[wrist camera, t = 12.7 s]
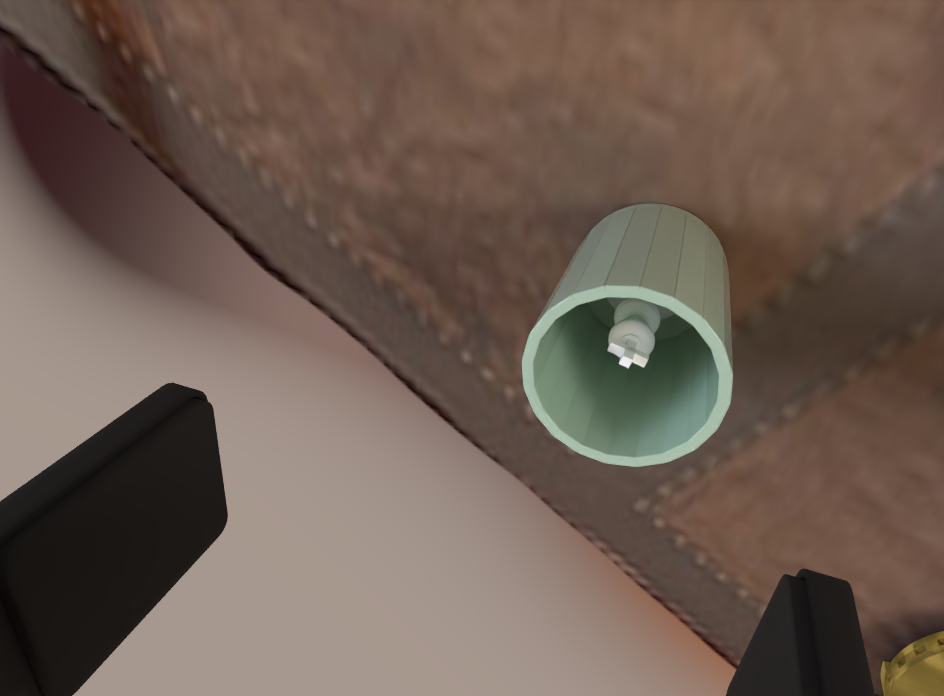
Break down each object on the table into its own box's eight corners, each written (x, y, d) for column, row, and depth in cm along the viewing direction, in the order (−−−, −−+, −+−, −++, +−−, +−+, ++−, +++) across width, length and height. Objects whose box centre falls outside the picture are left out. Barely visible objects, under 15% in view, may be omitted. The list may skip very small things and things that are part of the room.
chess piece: (668, 332, 37) (654, 430, 28) (587, 296, 37) (549, 381, 29) (712, 256, 34) (711, 339, 26) (625, 218, 35) (595, 287, 26)
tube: (704, 181, 33) (698, 259, 23) (745, 323, 36) (756, 450, 26) (554, 230, 37) (492, 316, 27) (601, 356, 39) (561, 478, 29)
